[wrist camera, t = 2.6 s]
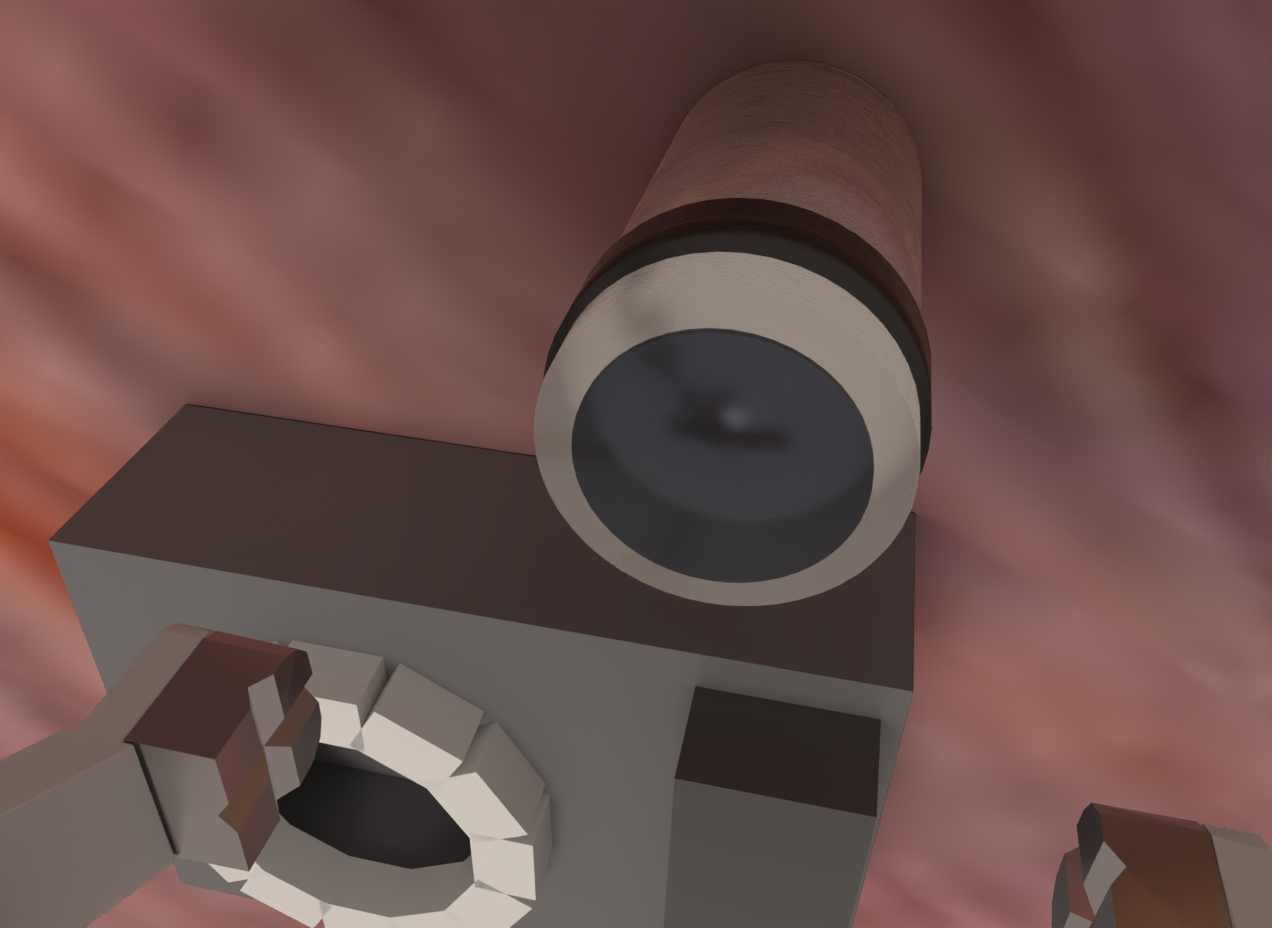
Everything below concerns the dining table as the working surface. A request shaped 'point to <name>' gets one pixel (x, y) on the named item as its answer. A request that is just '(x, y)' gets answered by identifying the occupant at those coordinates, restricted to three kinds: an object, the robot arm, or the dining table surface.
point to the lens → (751, 349)
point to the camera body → (504, 688)
